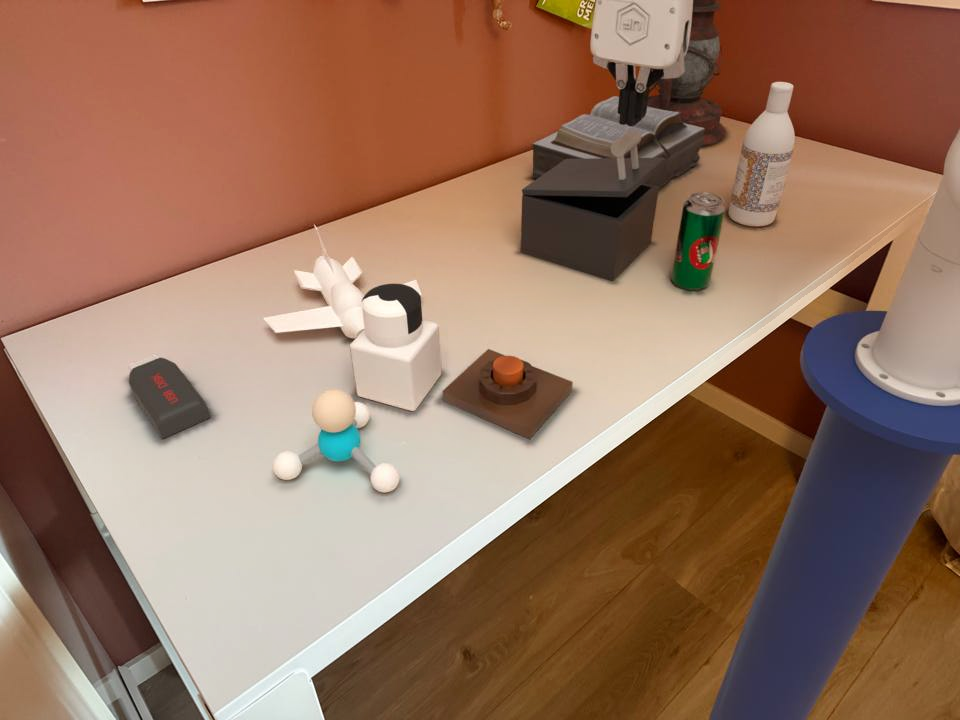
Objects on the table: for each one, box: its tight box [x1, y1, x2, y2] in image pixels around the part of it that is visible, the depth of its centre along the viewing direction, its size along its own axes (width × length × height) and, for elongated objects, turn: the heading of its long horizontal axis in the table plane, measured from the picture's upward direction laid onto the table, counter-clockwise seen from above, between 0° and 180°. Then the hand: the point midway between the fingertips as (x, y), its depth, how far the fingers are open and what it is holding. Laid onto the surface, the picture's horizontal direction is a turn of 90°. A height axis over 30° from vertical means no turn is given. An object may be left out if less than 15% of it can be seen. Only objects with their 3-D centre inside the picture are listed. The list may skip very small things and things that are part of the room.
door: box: [521, 130, 666, 197], centre depth 96 cm, size 15×13×6 cm
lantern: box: [636, 0, 726, 148], centre depth 131 cm, size 19×19×30 cm
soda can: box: [670, 191, 726, 291], centre depth 92 cm, size 5×5×12 cm
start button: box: [493, 355, 523, 386], centre depth 76 cm, size 3×3×2 cm
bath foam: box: [728, 81, 796, 228], centre depth 104 cm, size 7×7×20 cm
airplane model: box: [262, 224, 423, 339], centre depth 90 cm, size 20×20×8 cm
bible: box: [531, 95, 705, 190], centre depth 122 cm, size 23×27×10 cm
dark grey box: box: [520, 183, 660, 282], centre depth 101 cm, size 15×13×9 cm
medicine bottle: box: [349, 283, 442, 412], centre depth 76 cm, size 7×7×12 cm
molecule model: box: [272, 388, 401, 493], centre depth 68 cm, size 12×12×9 cm
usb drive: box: [127, 353, 211, 440], centre depth 78 cm, size 5×12×3 cm, turn 39°
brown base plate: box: [442, 348, 573, 440], centre depth 77 cm, size 11×9×3 cm
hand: (630, 121), depth 85 cm, fingers closed
